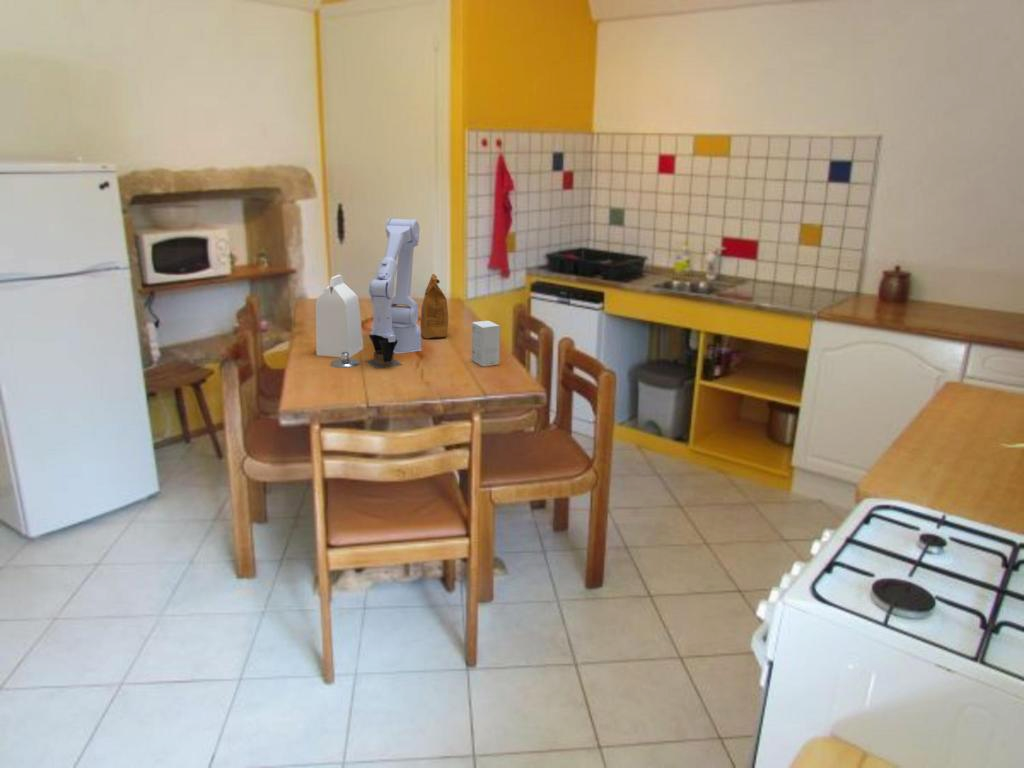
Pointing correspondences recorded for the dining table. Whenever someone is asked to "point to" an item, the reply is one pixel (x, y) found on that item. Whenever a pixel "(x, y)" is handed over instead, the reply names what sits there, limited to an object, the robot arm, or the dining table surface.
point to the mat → (383, 366)
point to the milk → (338, 320)
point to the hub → (345, 361)
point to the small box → (485, 343)
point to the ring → (381, 359)
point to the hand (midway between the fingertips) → (383, 358)
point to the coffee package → (434, 311)
